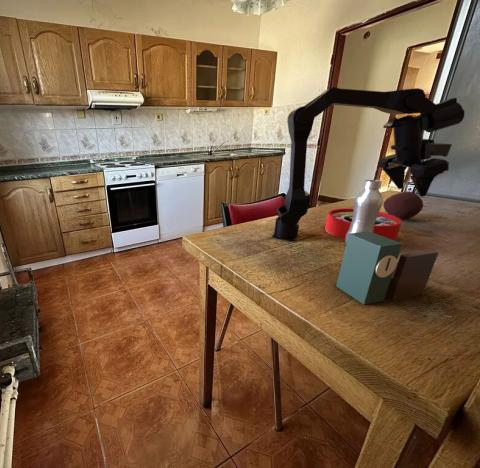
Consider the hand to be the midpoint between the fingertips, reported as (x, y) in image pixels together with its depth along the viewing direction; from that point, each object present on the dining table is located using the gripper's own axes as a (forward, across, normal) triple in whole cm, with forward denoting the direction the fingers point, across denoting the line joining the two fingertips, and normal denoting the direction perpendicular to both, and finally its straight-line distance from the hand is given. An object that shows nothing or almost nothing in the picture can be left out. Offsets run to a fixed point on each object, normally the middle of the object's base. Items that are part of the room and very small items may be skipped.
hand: (411, 192), depth 75 cm
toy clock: (+13, +7, +12) cm, 19 cm away
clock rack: (+8, -27, +22) cm, 36 cm away
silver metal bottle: (+10, -7, +18) cm, 22 cm away
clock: (+6, -32, +29) cm, 43 cm away
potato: (+20, +23, -9) cm, 32 cm away
